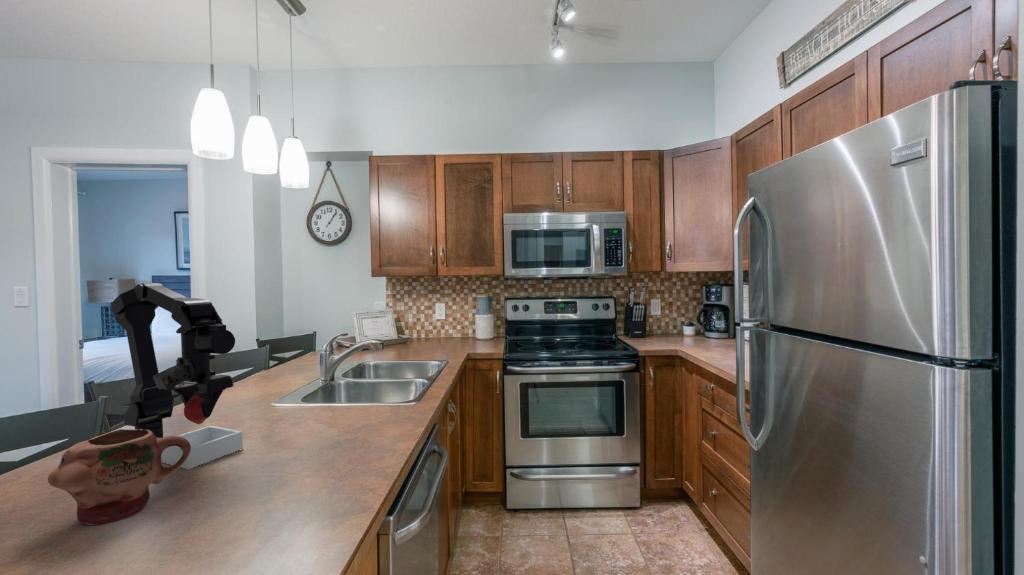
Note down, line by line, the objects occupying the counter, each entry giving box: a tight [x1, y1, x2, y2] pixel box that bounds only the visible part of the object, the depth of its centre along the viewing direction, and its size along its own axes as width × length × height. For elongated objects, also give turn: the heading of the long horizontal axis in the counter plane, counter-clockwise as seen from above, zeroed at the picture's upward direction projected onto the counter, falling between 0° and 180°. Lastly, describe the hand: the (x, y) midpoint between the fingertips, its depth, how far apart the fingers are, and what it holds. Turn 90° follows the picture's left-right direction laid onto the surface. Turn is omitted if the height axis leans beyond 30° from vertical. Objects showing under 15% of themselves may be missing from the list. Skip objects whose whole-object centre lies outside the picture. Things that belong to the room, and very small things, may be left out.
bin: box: [161, 425, 244, 470], centre depth 108 cm, size 13×13×4 cm
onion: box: [183, 394, 208, 425], centre depth 108 cm, size 6×6×8 cm
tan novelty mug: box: [47, 428, 191, 526], centre depth 83 cm, size 20×12×14 cm, turn 133°
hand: (198, 416), depth 108 cm, fingers closed on onion, 6 cm apart
